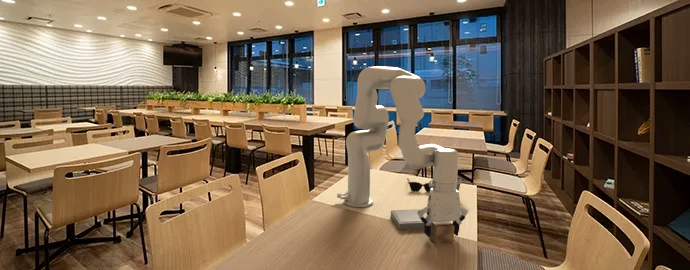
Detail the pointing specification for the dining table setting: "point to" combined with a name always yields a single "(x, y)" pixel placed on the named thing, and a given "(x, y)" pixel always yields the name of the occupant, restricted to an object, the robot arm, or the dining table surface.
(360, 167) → the robot arm
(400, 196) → the dining table surface
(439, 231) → the cube
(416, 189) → the sunglasses
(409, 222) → the tray
